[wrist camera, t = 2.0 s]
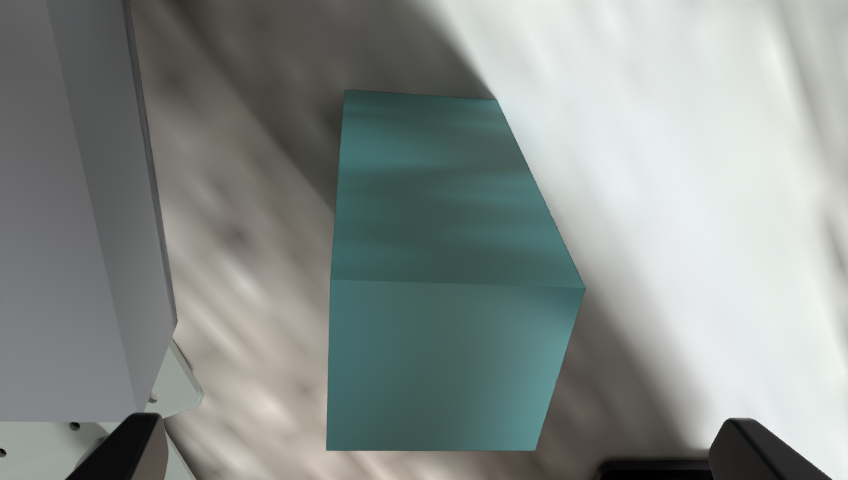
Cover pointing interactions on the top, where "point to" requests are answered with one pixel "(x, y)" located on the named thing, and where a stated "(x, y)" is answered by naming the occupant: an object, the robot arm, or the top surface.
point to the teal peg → (442, 281)
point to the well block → (77, 217)
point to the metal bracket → (95, 431)
